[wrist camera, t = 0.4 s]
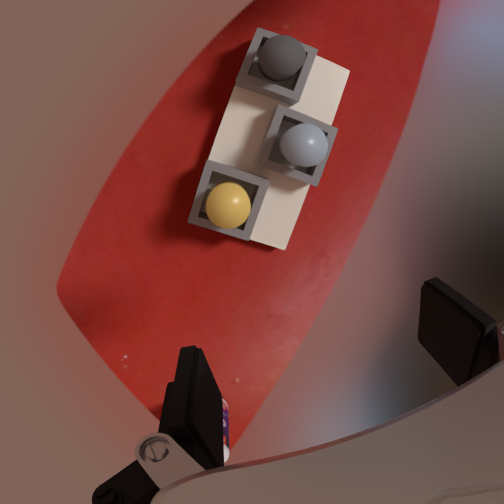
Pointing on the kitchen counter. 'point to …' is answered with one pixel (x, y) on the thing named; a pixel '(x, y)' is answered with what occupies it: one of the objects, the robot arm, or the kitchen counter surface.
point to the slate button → (303, 145)
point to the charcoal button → (281, 58)
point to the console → (270, 143)
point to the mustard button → (228, 205)
